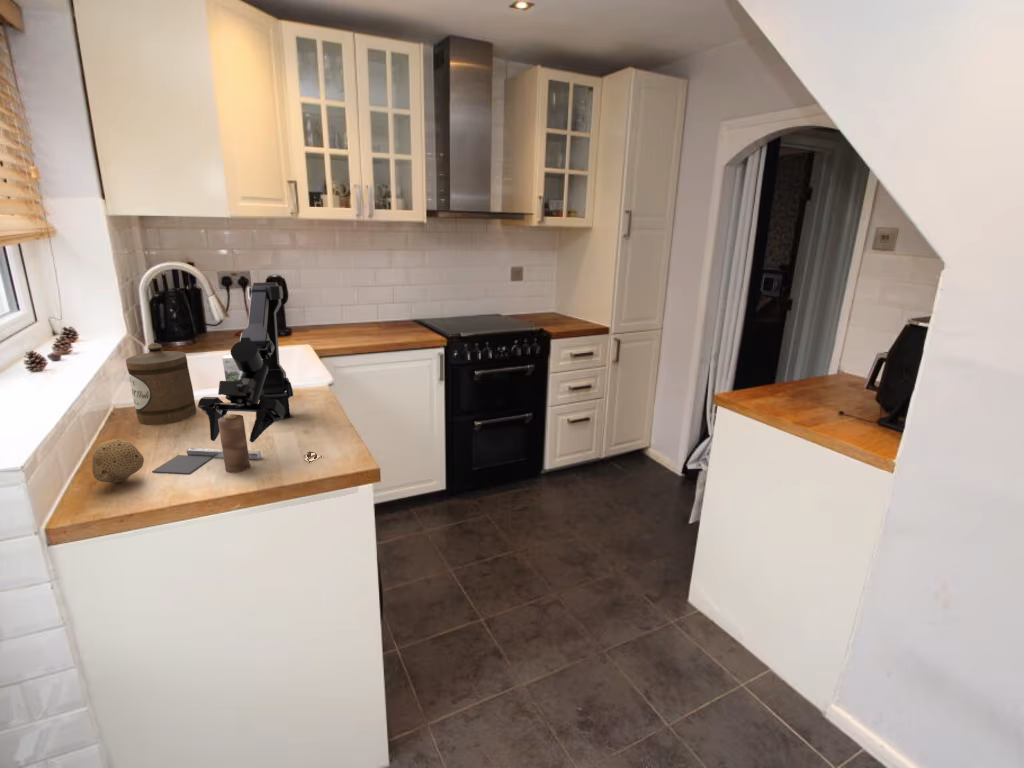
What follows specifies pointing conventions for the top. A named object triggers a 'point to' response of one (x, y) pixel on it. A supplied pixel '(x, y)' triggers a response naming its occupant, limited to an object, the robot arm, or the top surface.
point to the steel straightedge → (218, 453)
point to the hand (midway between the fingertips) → (231, 441)
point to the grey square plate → (182, 464)
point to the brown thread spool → (234, 443)
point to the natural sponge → (116, 461)
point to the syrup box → (230, 368)
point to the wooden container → (161, 386)
